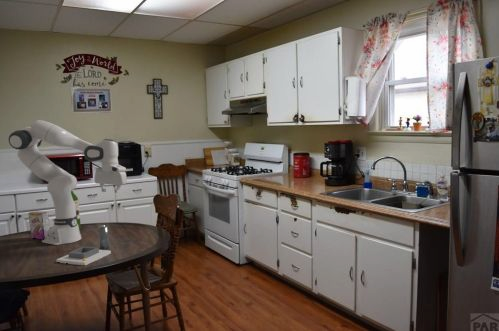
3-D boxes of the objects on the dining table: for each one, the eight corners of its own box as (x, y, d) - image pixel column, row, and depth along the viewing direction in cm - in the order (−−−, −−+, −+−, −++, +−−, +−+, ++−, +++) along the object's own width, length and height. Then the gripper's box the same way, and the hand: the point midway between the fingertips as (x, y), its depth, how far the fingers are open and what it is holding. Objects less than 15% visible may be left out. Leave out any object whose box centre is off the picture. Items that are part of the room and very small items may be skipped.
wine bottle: (75, 231, 257) (70, 181, 253) (63, 230, 258) (58, 181, 255) (83, 227, 265) (79, 179, 262) (71, 227, 267) (67, 179, 264)
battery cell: (98, 249, 214) (95, 226, 212) (104, 246, 218) (102, 224, 217) (105, 250, 212) (103, 227, 211) (111, 247, 217) (109, 224, 215)
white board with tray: (56, 262, 196) (55, 254, 196) (83, 250, 213) (83, 243, 212) (85, 265, 190) (84, 257, 189) (110, 253, 206) (110, 245, 206)
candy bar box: (30, 239, 242) (27, 212, 241) (37, 236, 247) (34, 210, 245) (44, 240, 239) (41, 213, 237) (51, 237, 243) (48, 211, 242)
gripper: (91, 167, 226) (91, 191, 226) (120, 168, 218) (120, 193, 218) (99, 167, 231) (100, 190, 232) (128, 168, 224) (128, 192, 224)
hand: (110, 192), depth 225 cm, fingers open, 8 cm apart
